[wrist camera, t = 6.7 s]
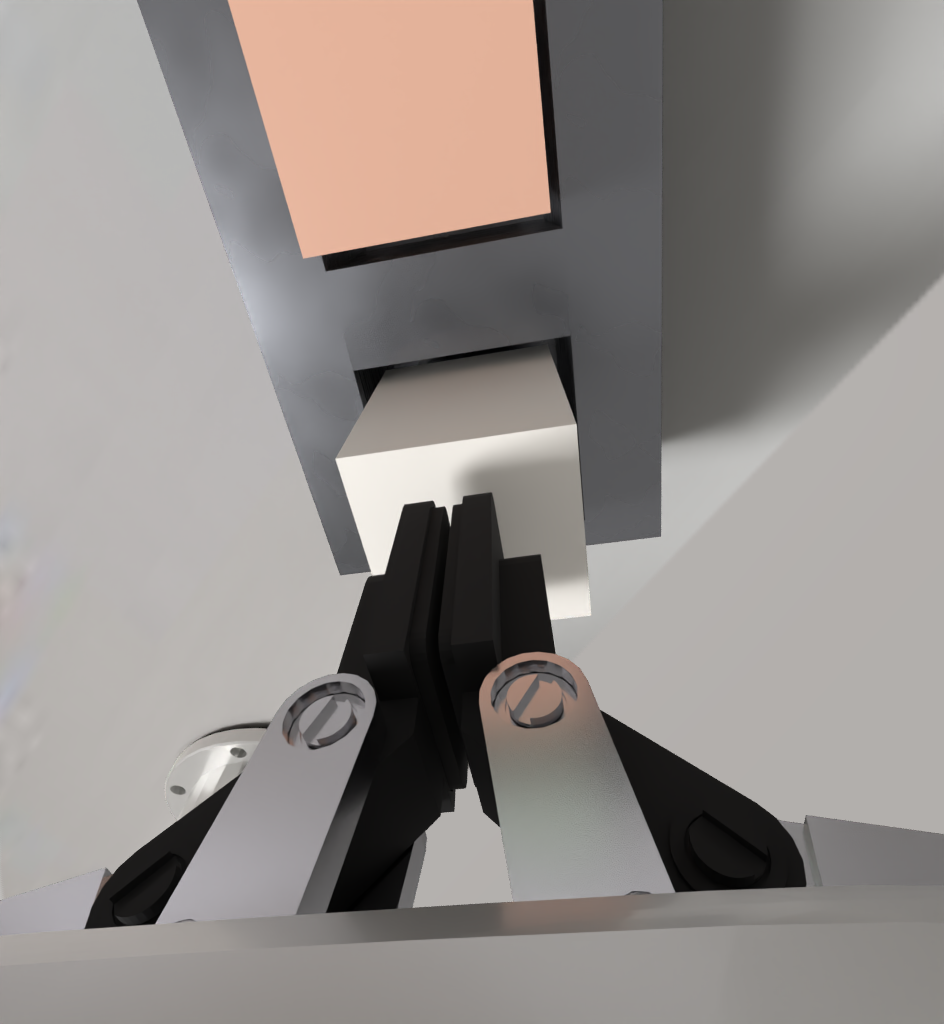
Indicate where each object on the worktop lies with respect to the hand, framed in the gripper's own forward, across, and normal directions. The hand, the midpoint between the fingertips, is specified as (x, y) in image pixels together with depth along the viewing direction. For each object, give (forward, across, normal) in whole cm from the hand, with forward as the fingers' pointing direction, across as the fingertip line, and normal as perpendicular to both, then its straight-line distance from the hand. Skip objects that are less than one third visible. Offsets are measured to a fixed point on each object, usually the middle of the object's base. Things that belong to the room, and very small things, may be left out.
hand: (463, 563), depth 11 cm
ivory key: (+7, 0, 0) cm, 7 cm away
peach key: (+8, 0, -8) cm, 12 cm away
